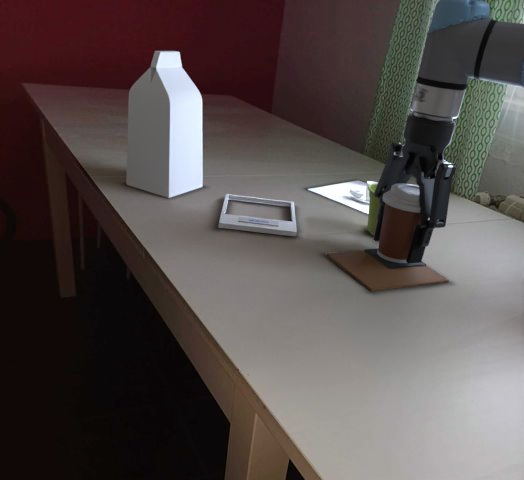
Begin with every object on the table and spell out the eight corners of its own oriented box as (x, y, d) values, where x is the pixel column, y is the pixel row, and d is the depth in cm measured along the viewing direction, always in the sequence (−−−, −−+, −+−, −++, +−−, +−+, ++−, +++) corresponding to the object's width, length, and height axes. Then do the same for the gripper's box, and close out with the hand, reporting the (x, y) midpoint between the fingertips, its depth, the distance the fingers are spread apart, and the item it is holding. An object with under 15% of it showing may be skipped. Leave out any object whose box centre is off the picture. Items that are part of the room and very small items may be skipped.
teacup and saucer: (343, 196, 127) (346, 179, 124) (363, 192, 132) (367, 175, 129) (372, 208, 122) (376, 190, 119) (393, 203, 127) (397, 186, 124)
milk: (168, 198, 111) (171, 56, 97) (126, 184, 116) (123, 46, 101) (202, 186, 120) (209, 55, 106) (162, 174, 125) (163, 47, 111)
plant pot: (366, 221, 113) (375, 180, 109) (409, 232, 110) (421, 190, 106) (352, 233, 106) (362, 190, 101) (399, 246, 103) (411, 201, 98)
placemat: (448, 282, 91) (449, 279, 91) (371, 291, 85) (372, 288, 84) (398, 249, 102) (398, 246, 101) (326, 255, 95) (326, 252, 95)
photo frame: (218, 221, 99) (226, 193, 114) (218, 227, 100) (225, 198, 115) (297, 230, 100) (294, 201, 115) (296, 236, 101) (293, 206, 116)
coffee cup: (429, 259, 97) (449, 193, 90) (403, 270, 91) (422, 201, 85) (387, 242, 102) (403, 178, 95) (359, 252, 96) (375, 184, 90)
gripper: (372, 101, 90) (346, 229, 102) (463, 131, 74) (418, 279, 86) (408, 103, 93) (377, 227, 106) (502, 133, 77) (453, 275, 90)
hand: (396, 250), depth 96 cm, fingers closed on coffee cup, 9 cm apart
